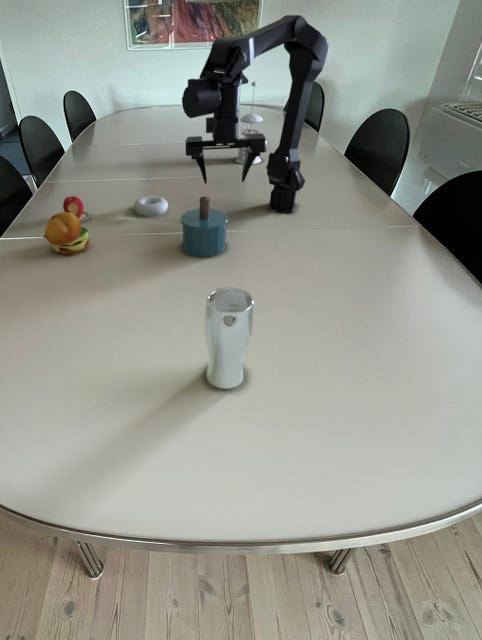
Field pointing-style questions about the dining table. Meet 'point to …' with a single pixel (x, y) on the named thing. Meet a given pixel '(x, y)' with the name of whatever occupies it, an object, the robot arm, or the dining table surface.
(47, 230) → the cheeseburger
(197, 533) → the dining table surface
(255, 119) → the french press
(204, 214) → the lid
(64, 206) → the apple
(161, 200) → the donut
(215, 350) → the beer glass
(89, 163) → the dining table surface
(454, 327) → the dining table surface
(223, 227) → the canister
